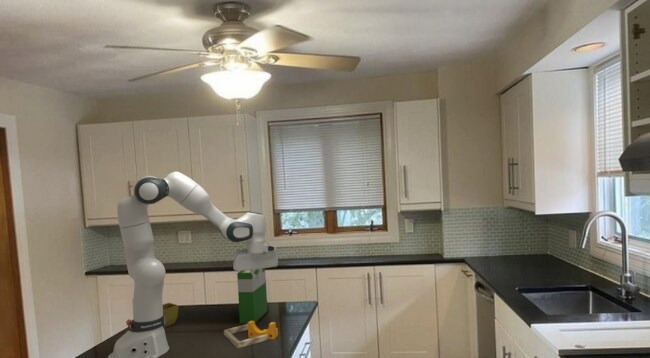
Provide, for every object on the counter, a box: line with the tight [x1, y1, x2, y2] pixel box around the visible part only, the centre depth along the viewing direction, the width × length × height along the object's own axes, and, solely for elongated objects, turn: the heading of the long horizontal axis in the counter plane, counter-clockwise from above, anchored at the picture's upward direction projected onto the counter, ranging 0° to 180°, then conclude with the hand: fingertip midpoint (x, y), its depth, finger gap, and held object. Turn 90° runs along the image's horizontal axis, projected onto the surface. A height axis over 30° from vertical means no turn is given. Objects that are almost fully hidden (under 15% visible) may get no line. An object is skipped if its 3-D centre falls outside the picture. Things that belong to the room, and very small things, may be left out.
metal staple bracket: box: [223, 324, 269, 349], centre depth 172 cm, size 14×18×2 cm
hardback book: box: [236, 268, 268, 325], centre depth 197 cm, size 18×7×24 cm, turn 169°
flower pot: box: [163, 302, 179, 328], centre depth 192 cm, size 9×9×9 cm
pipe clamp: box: [247, 321, 279, 340], centre depth 172 cm, size 12×4×6 cm, turn 73°
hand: (256, 278), depth 178 cm, fingers closed
